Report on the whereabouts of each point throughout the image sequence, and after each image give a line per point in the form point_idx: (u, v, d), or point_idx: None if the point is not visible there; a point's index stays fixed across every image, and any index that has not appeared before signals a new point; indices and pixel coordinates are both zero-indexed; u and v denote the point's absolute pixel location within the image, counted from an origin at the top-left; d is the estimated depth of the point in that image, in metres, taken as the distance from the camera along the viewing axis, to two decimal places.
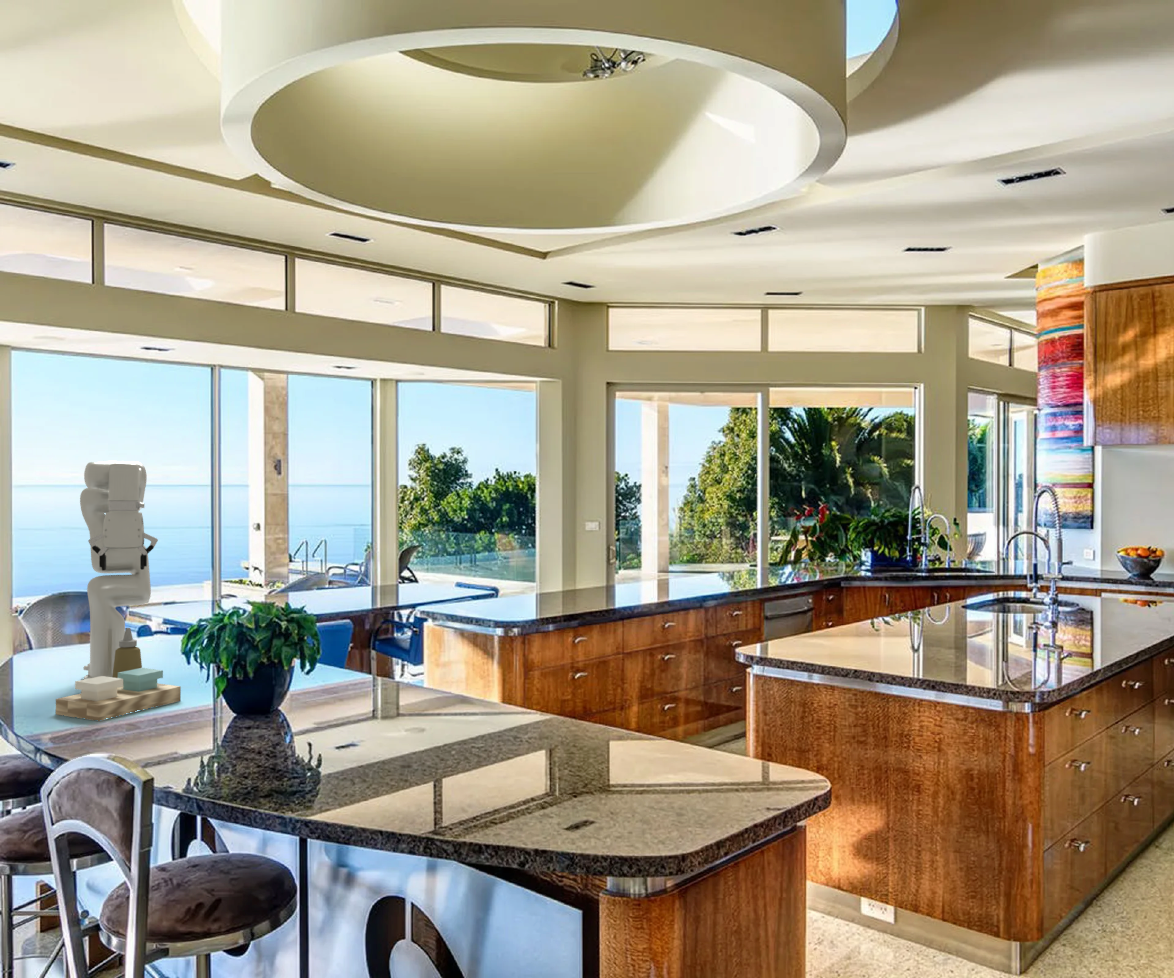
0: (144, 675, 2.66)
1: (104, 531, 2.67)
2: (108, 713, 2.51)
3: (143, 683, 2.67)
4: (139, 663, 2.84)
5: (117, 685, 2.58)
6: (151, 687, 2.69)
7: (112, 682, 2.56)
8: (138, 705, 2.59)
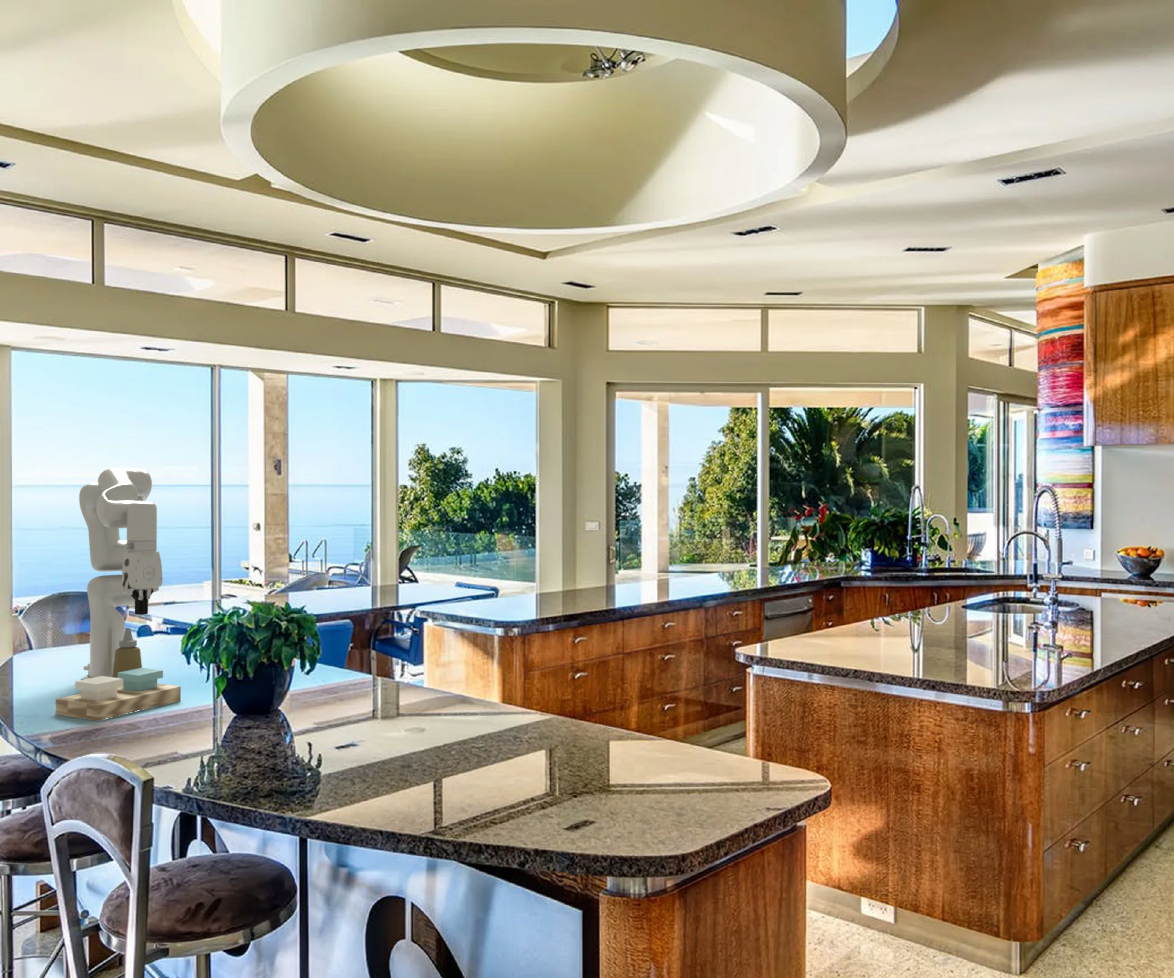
0: (144, 675, 2.66)
1: None
2: (108, 713, 2.51)
3: (143, 683, 2.67)
4: (139, 663, 2.84)
5: (117, 685, 2.58)
6: (151, 687, 2.69)
7: (112, 682, 2.56)
8: (138, 705, 2.59)
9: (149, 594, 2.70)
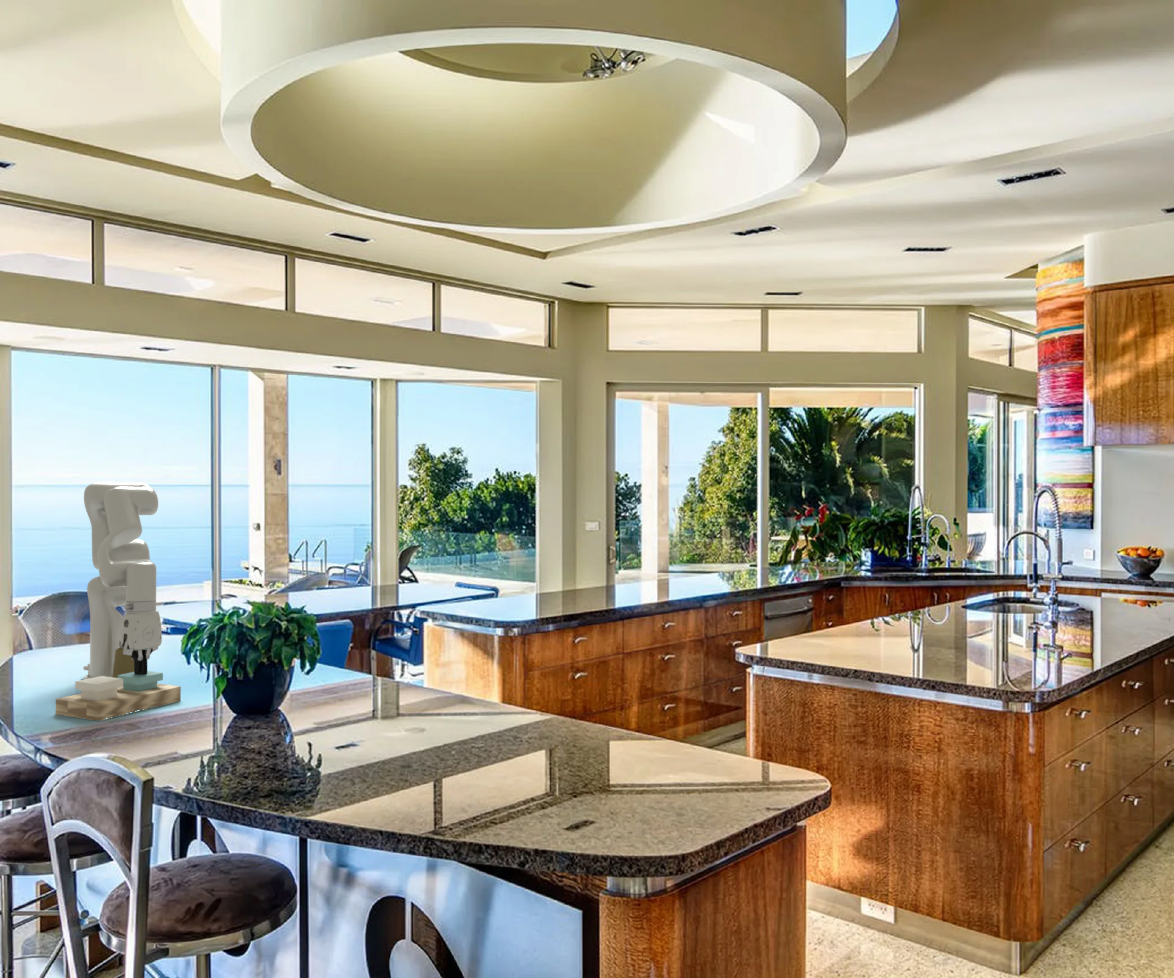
0: (144, 678, 2.66)
1: None
2: (108, 713, 2.51)
3: (143, 686, 2.67)
4: None
5: (117, 685, 2.58)
6: None
7: (112, 682, 2.56)
8: (138, 705, 2.59)
9: (148, 654, 2.70)
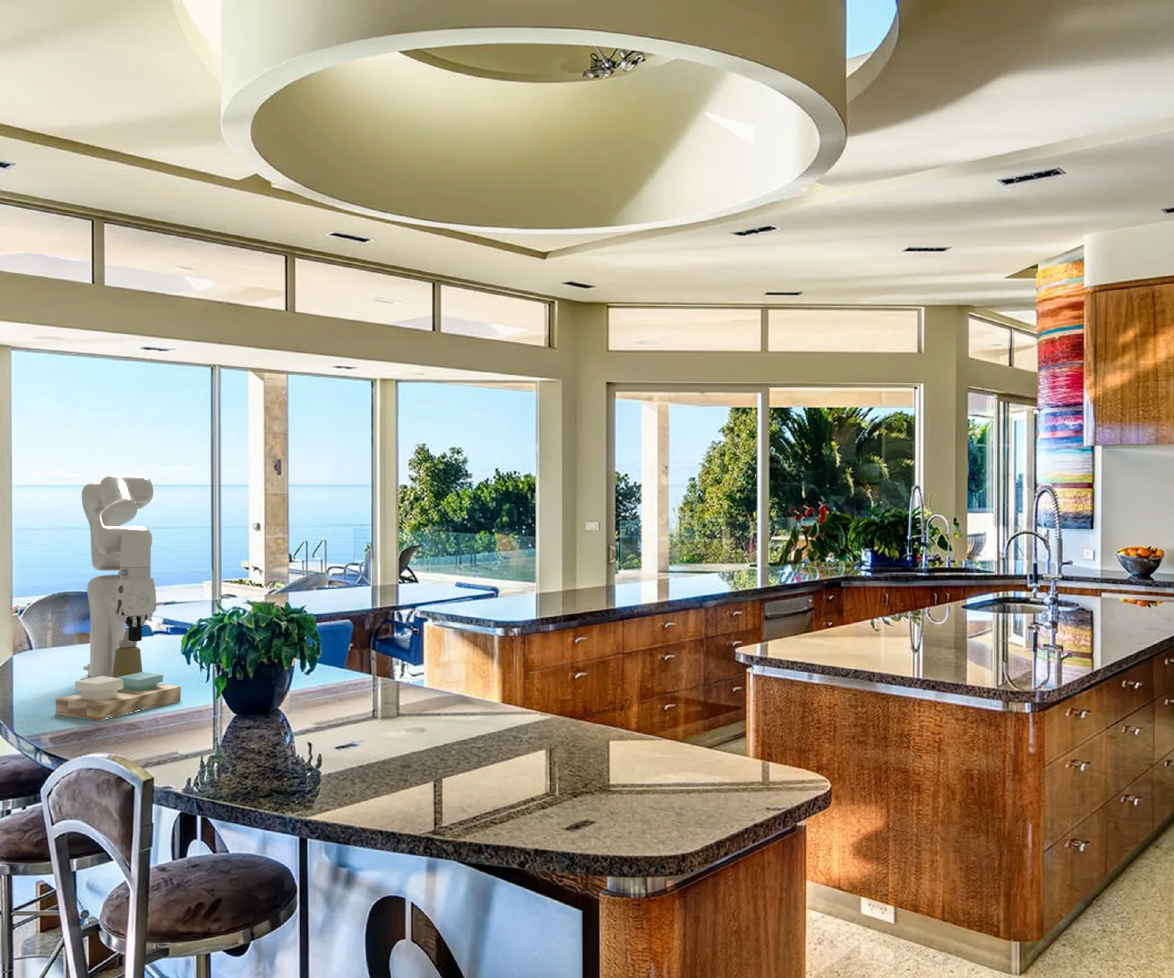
0: (144, 679, 2.66)
1: None
2: (108, 713, 2.51)
3: (143, 687, 2.67)
4: (139, 663, 2.84)
5: (117, 685, 2.58)
6: None
7: (112, 682, 2.56)
8: (138, 705, 2.59)
9: (143, 620, 2.68)
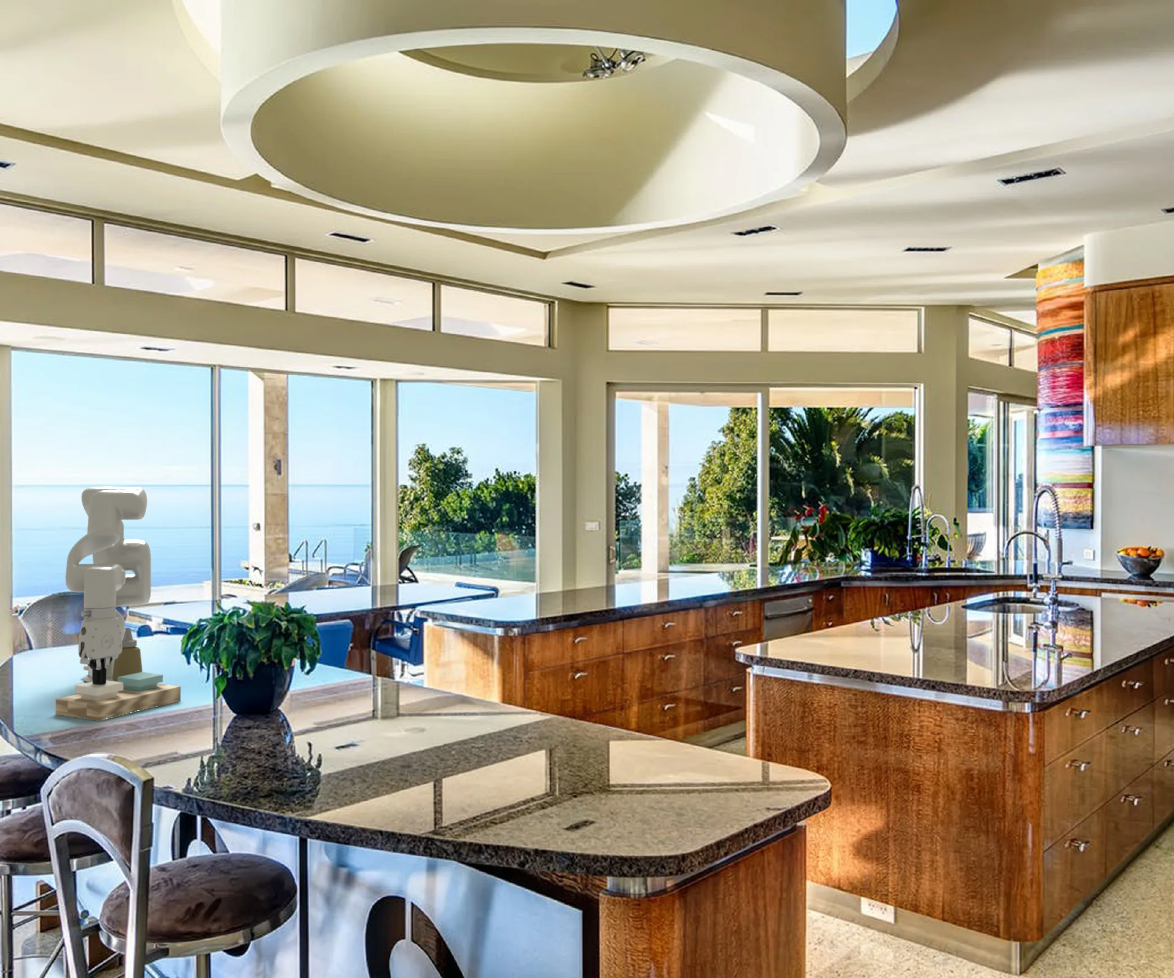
0: (144, 679, 2.66)
1: None
2: (108, 713, 2.51)
3: (143, 687, 2.67)
4: (139, 663, 2.84)
5: (117, 689, 2.58)
6: None
7: (112, 686, 2.56)
8: (138, 705, 2.59)
9: (108, 663, 2.58)
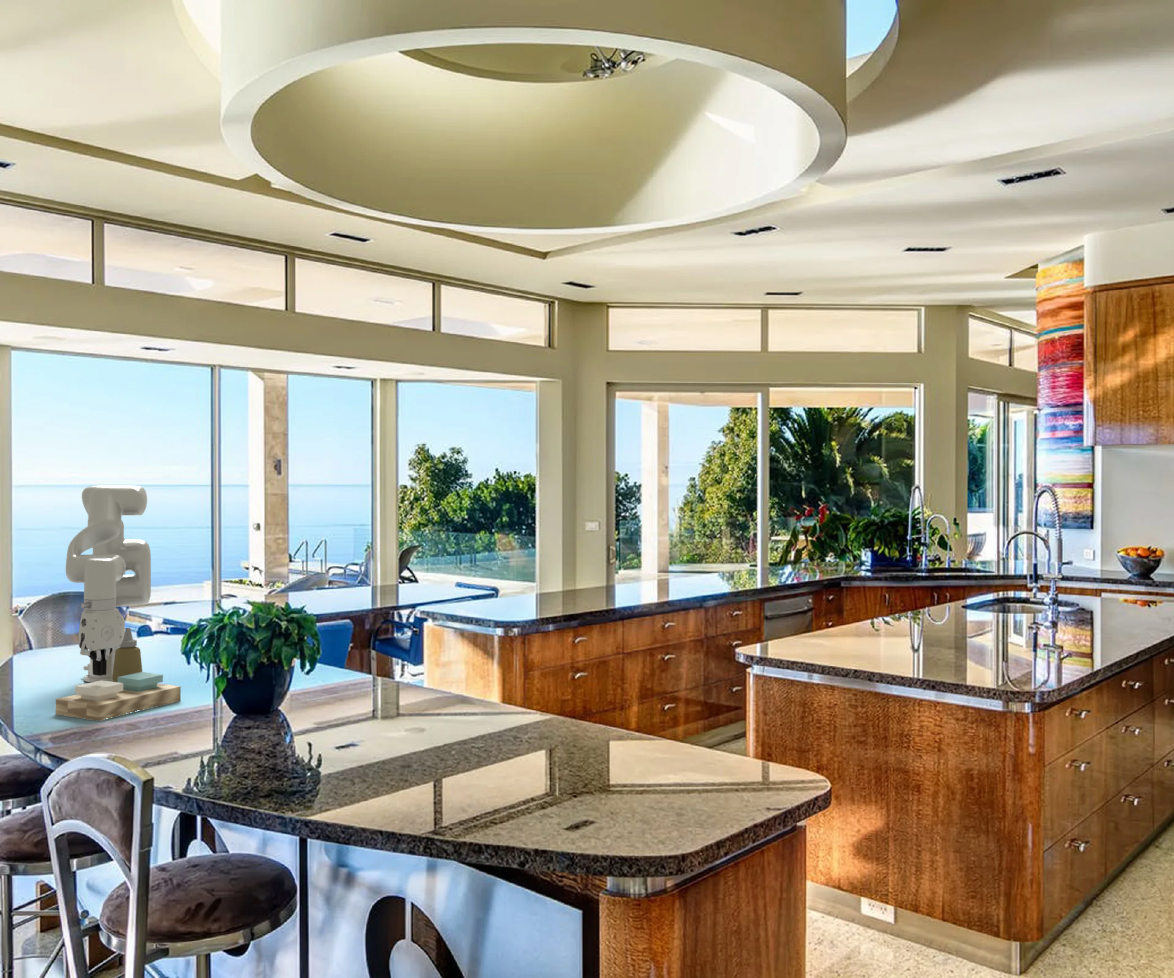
0: (144, 679, 2.66)
1: None
2: (108, 713, 2.51)
3: (143, 687, 2.67)
4: (139, 663, 2.84)
5: (117, 689, 2.58)
6: None
7: (112, 686, 2.56)
8: (138, 705, 2.59)
9: (108, 654, 2.59)
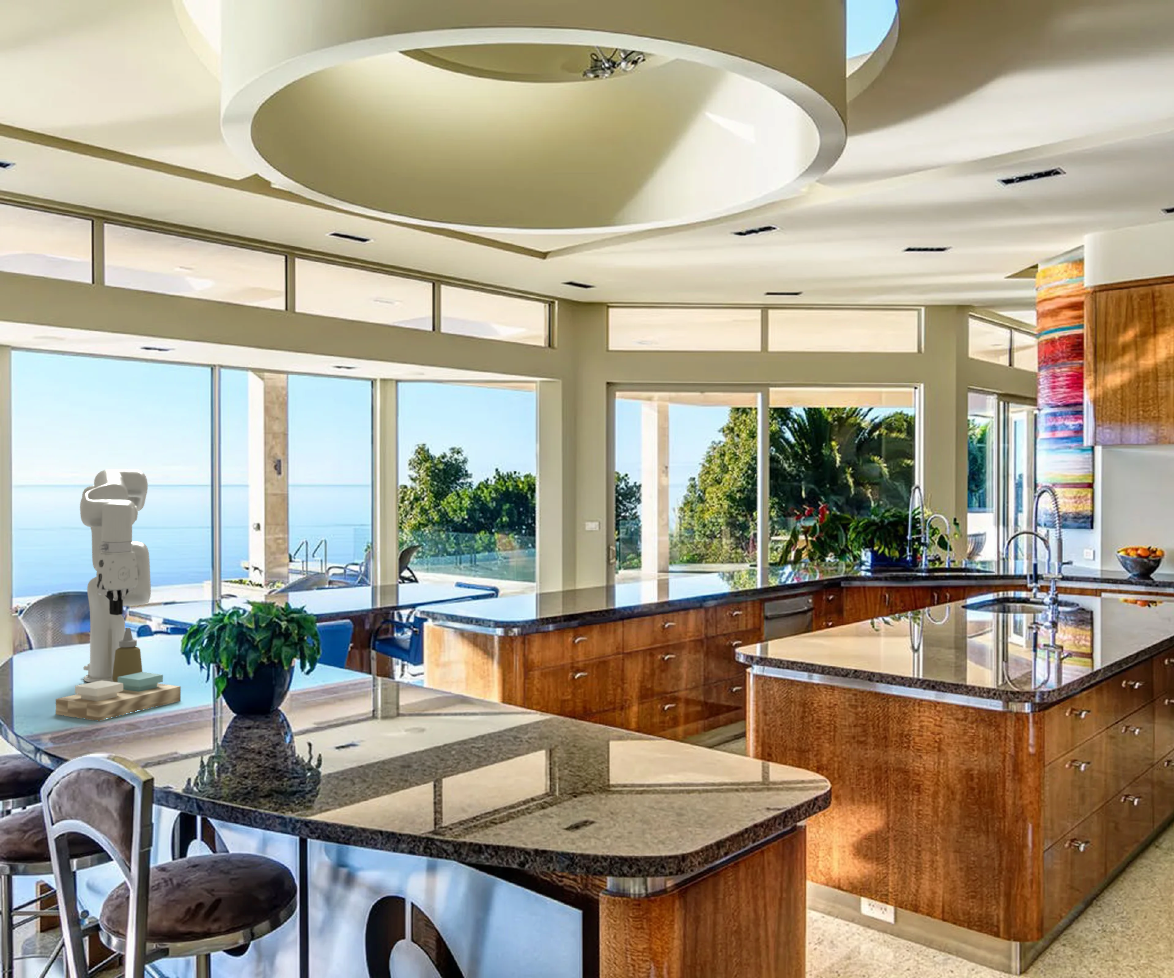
0: (144, 679, 2.66)
1: None
2: (108, 713, 2.51)
3: (143, 687, 2.67)
4: (139, 663, 2.84)
5: (117, 689, 2.58)
6: None
7: (112, 686, 2.56)
8: (138, 705, 2.59)
9: (124, 594, 2.70)
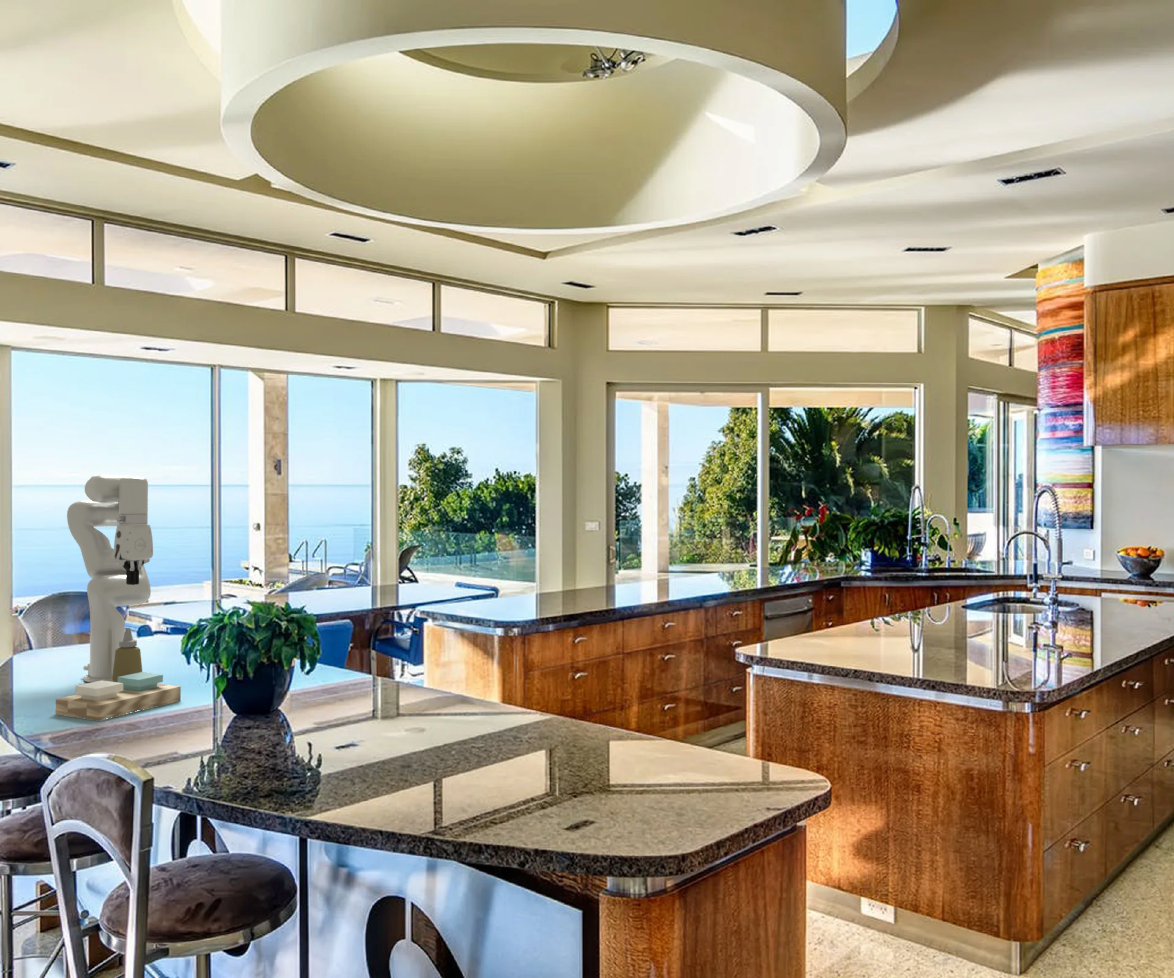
0: (144, 679, 2.66)
1: None
2: (108, 713, 2.51)
3: (143, 687, 2.67)
4: (139, 663, 2.84)
5: (117, 689, 2.58)
6: None
7: (112, 686, 2.56)
8: (138, 705, 2.59)
9: (140, 565, 2.82)
